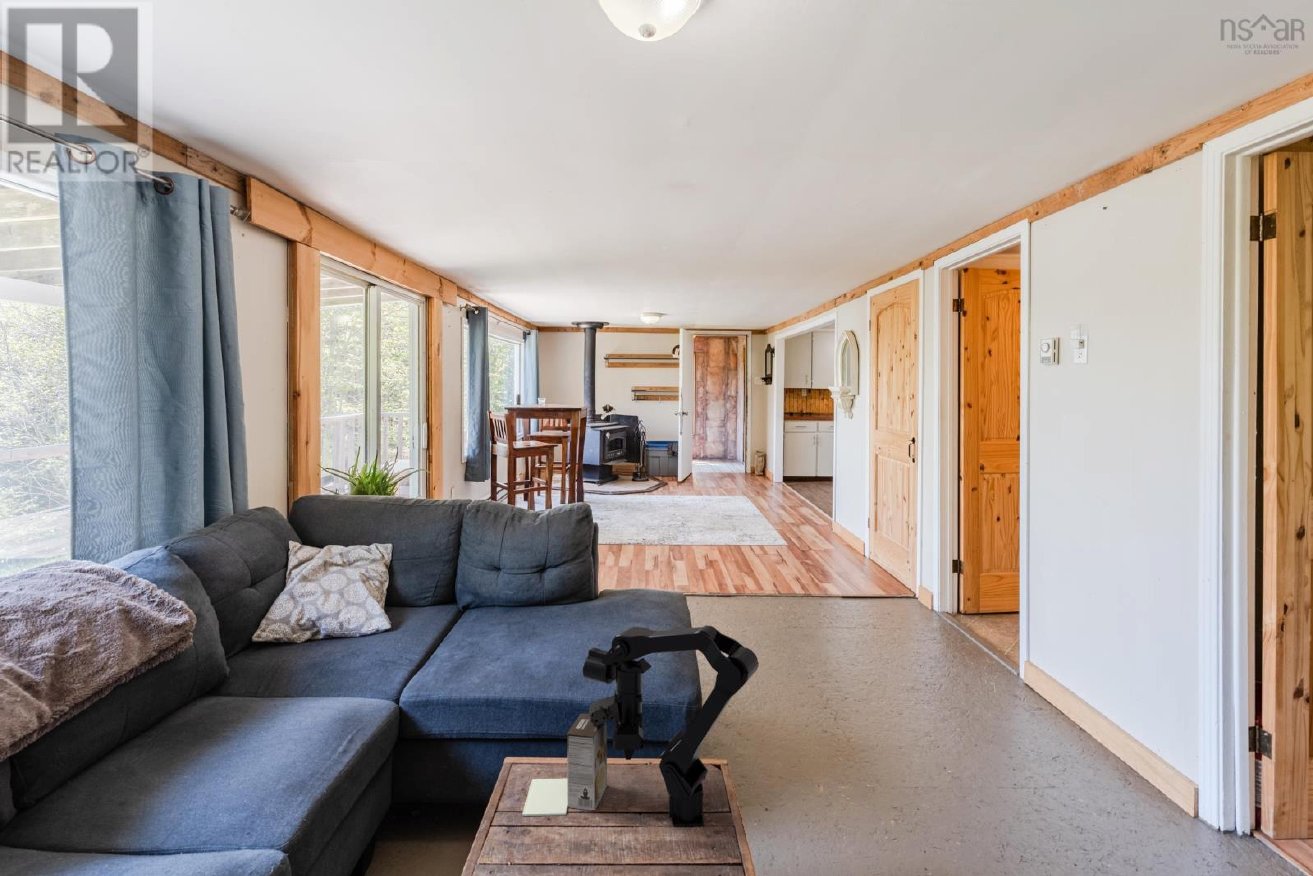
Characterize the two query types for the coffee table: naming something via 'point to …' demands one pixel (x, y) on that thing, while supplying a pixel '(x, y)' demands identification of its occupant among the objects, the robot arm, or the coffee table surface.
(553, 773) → the coffee table surface
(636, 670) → the robot arm
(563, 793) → the pad
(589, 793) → the coffee box
